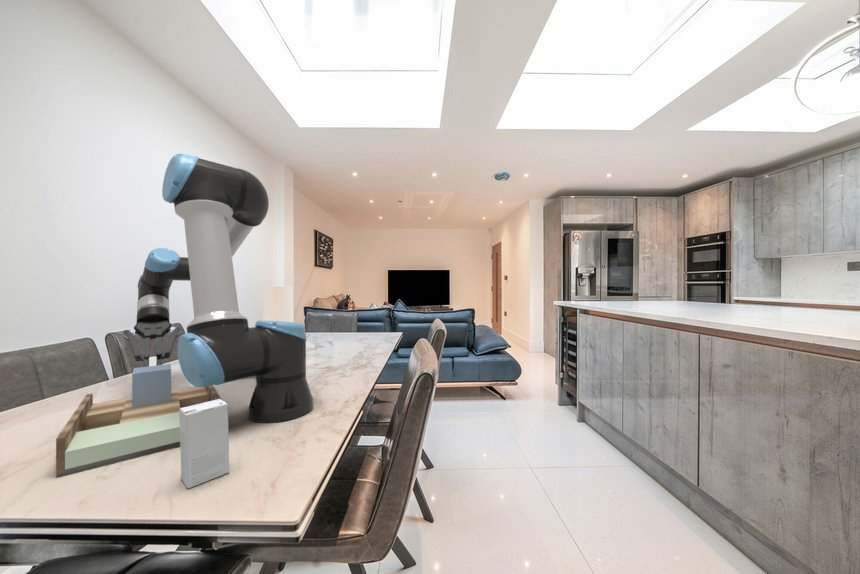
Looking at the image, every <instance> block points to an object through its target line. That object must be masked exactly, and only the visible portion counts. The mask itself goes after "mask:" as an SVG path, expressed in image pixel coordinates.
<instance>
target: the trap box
mask: <svg viewBox="0 0 860 574" xmlns="http://www.w3.org/2000/svg"><path fill="white" fill-rule="evenodd" d="M217 399H221V400H222V398H221V397H220V395H219V393H218V391H217V390H216V388H215V385H211V386H206V387H196V386H194V387H187V388H181V389H175V390H171V402H166V403H161V404H155V405H149V406H144V407H138V408H133V409H132V397H125V398H121V399H115V400H110V401H103V402H97V403H94V394H93V393H87V394H86V395H85V396H84V398H83V399H82V401H81V402H80V403H79V405H78V406H77V408H76V409H75V411H74V412H73V414H72V415H71V417H70V418H69V420H67V422H66V424H65V425H64V427H63V428H62V430H61V431H60V433H59V434H58V435H57V436H56V438H55V478H56V479H57V478H60V477H64V476H69V475H72V474H76V473H80V472H84V471H89V470H92V469H96V468H100V467H104V466H108V465H111V464H112V465H113V464H115V463H119V462H124V461H128V460H131V459H136V458H139V457H143V456H148V455H150V454H157V453H160V452H163V451H168V450H171V449H175V448H180V442H176V443H171V444H167V445H163V446H159V447H155V448H151V449H147V450H143V451H139V452H135V453H131V454H127V455H122V456H118V457H114V458H110V459H106V460H102V461H98V462H94V463H90V464H86V465H82V466H78V467H73V468H69V469H65V451H66V450H67V448H68V446H69V444H70V443H71V441H72V439H73V437H74V436H75V434H76V432H80V431H85V430H90V429H95V428H100V427H105V426H110V425H115V424H120V423H125V422H131V421H136V420H141V419H146V418H151V417H156V416H161V415H166V414H171V413H176V412H179V409H180V408H183V407H188V406H192V405H196V404H200V403H204V402H209V401H213V400H217Z"/></svg>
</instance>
